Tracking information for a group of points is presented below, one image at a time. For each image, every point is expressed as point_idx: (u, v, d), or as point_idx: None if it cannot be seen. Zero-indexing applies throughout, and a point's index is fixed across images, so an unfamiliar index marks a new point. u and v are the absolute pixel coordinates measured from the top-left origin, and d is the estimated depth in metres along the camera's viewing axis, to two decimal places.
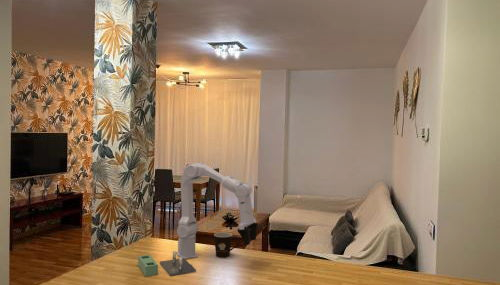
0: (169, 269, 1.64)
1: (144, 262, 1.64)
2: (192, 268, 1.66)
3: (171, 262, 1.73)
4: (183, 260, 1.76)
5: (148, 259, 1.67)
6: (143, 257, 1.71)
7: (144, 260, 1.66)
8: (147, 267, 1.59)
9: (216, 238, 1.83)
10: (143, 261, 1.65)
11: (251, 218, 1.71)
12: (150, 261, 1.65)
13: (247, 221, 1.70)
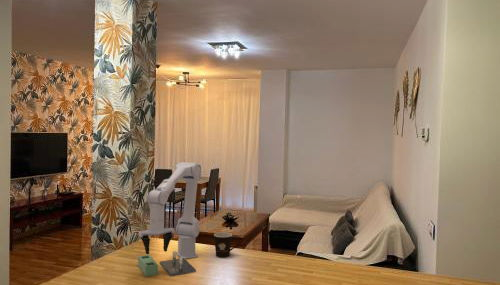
0: (169, 269, 1.64)
1: (144, 262, 1.64)
2: (192, 268, 1.66)
3: (171, 262, 1.73)
4: (183, 260, 1.76)
5: (148, 259, 1.67)
6: (143, 257, 1.71)
7: (144, 260, 1.66)
8: (147, 267, 1.59)
9: (216, 238, 1.83)
10: (143, 261, 1.65)
11: (156, 228, 1.59)
12: (150, 261, 1.65)
13: (151, 230, 1.60)
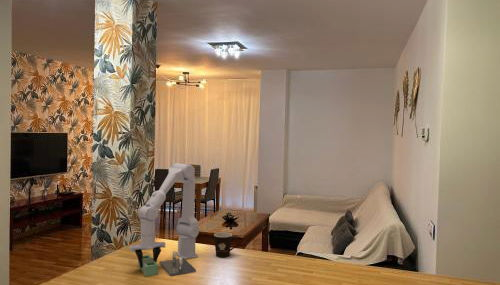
0: (169, 269, 1.64)
1: (144, 262, 1.64)
2: (192, 268, 1.66)
3: (171, 262, 1.73)
4: (183, 260, 1.76)
5: (148, 259, 1.67)
6: (143, 257, 1.71)
7: (144, 260, 1.66)
8: (147, 267, 1.59)
9: (216, 238, 1.83)
10: (143, 261, 1.65)
11: (146, 243, 1.63)
12: (150, 261, 1.65)
13: (142, 245, 1.64)
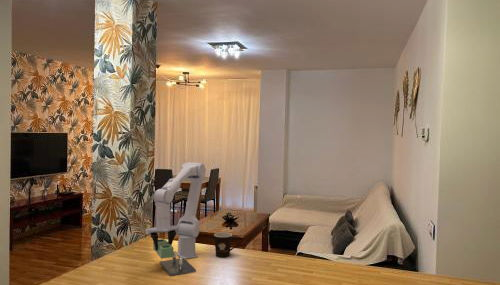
0: (169, 269, 1.64)
1: (159, 245, 1.65)
2: (192, 268, 1.66)
3: (171, 262, 1.73)
4: (183, 260, 1.76)
5: (163, 242, 1.69)
6: (158, 241, 1.73)
7: (159, 243, 1.67)
8: (163, 249, 1.60)
9: (216, 238, 1.83)
10: (158, 244, 1.66)
11: (162, 226, 1.64)
12: (165, 244, 1.66)
13: (157, 227, 1.65)
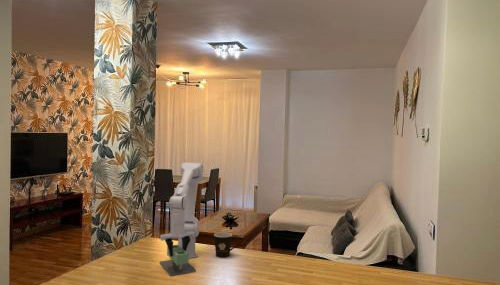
0: (169, 269, 1.64)
1: (174, 251, 1.66)
2: (192, 268, 1.66)
3: (171, 262, 1.73)
4: None
5: (178, 248, 1.70)
6: None
7: (174, 249, 1.69)
8: (178, 256, 1.62)
9: (216, 238, 1.83)
10: (173, 250, 1.68)
11: (177, 232, 1.66)
12: (180, 250, 1.68)
13: (172, 234, 1.66)
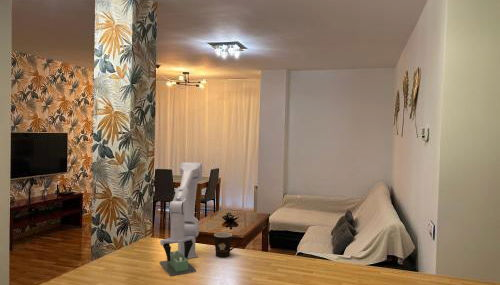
0: (169, 269, 1.64)
1: (174, 258, 1.67)
2: (192, 268, 1.66)
3: None
4: None
5: (178, 255, 1.70)
6: (172, 253, 1.74)
7: (174, 256, 1.69)
8: (178, 263, 1.62)
9: (216, 238, 1.83)
10: (173, 257, 1.68)
11: (177, 237, 1.66)
12: (180, 257, 1.68)
13: (172, 238, 1.67)
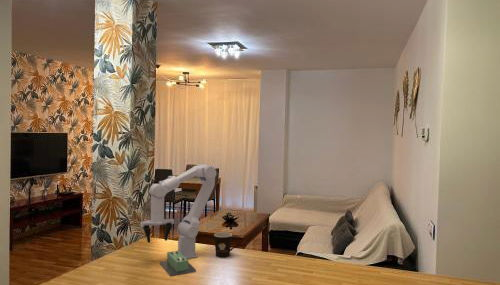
0: (169, 269, 1.64)
1: (174, 258, 1.67)
2: (192, 268, 1.66)
3: None
4: None
5: (178, 255, 1.70)
6: (172, 253, 1.74)
7: (174, 256, 1.69)
8: (178, 263, 1.62)
9: (216, 238, 1.83)
10: (173, 257, 1.68)
11: (156, 219, 1.72)
12: (180, 257, 1.68)
13: (152, 220, 1.73)
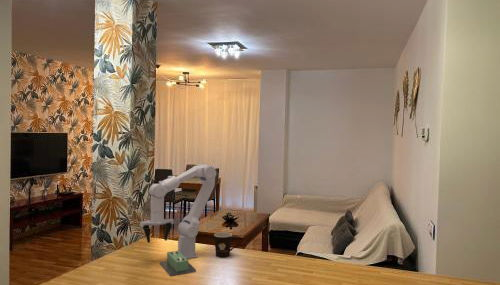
0: (169, 269, 1.64)
1: (174, 258, 1.67)
2: (192, 268, 1.66)
3: None
4: None
5: (178, 255, 1.70)
6: (172, 253, 1.74)
7: (174, 256, 1.69)
8: (178, 263, 1.62)
9: (216, 238, 1.83)
10: (173, 257, 1.68)
11: (156, 219, 1.73)
12: (180, 257, 1.68)
13: (152, 220, 1.73)
